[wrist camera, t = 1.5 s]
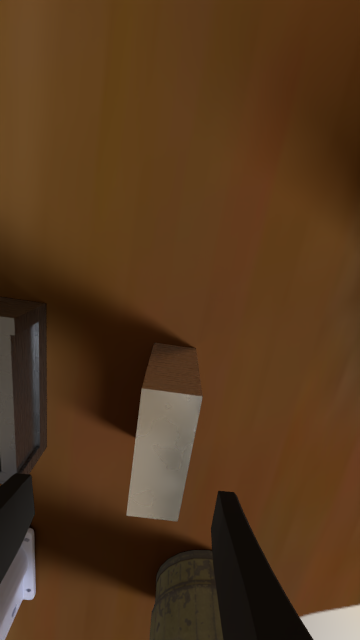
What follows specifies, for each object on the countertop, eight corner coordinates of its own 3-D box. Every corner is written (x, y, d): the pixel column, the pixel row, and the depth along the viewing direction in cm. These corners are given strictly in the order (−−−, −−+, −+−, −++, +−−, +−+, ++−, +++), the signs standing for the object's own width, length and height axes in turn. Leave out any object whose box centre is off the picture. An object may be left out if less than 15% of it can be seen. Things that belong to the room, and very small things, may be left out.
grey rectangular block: (178, 444, 21) (177, 521, 15) (141, 439, 21) (126, 515, 15) (196, 348, 18) (202, 396, 13) (154, 342, 18) (141, 388, 13)
